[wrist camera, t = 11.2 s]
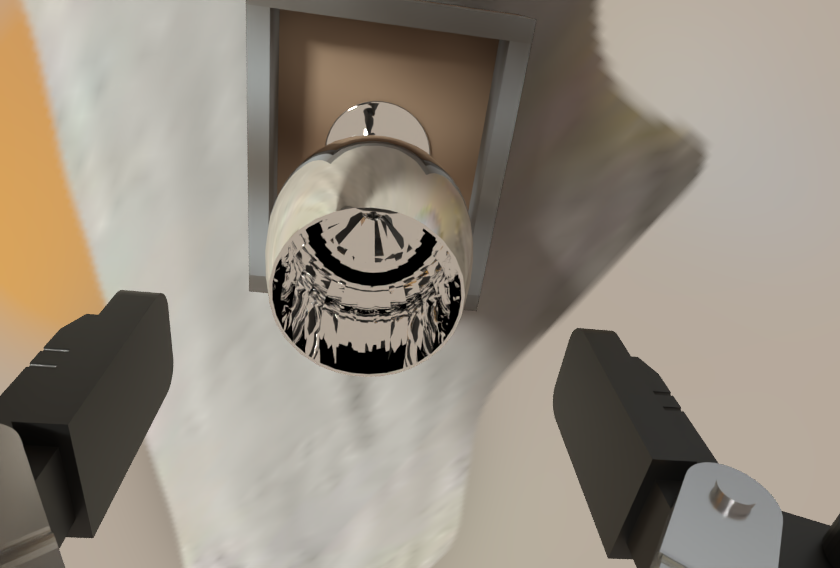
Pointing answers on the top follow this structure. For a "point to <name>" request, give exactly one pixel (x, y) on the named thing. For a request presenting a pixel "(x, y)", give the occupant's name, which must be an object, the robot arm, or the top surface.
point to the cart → (383, 95)
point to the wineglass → (369, 247)
